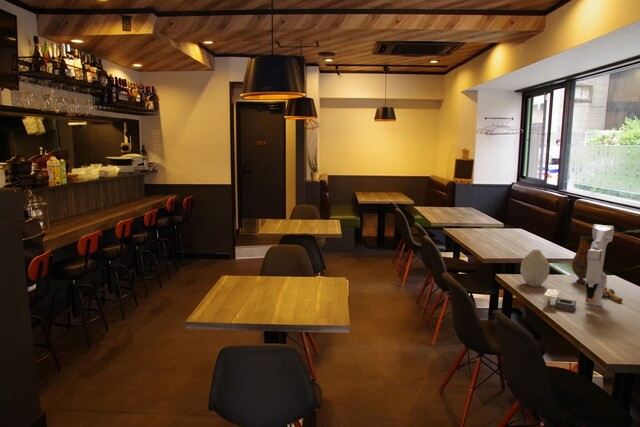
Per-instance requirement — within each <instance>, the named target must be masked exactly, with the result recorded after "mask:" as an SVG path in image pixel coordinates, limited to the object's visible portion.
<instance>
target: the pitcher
mask: <svg viewBox="0 0 640 427" xmlns="http://www.w3.org/2000/svg"><path fill="white" fill-rule="evenodd" d="M579 238H580V242H579V248H578V249H577V251H576V253H575V255H574V257H573V259H572V263H571V266H572V267H571V268H572V270H573V272H574V275H575V276H576V277H577V278H578V279H576V280H575V282H576V283H577V284H579V285H583V286H585V281H584V280H583V279H586V275H587V266H588V263H587V254H588V250H590V248H591V245H592V242H593V241H595V240H594V239H593V236H590V235H589V236H588V235H581V236H579Z"/></svg>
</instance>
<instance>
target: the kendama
mask: <svg viewBox="0 0 640 427" xmlns="http://www.w3.org/2000/svg"><path fill="white" fill-rule="evenodd" d="M604 296H607V297H608V298H611V299H613V301H615V302H617V303H618V304H621V303H622V302H623V298H621V297H619V296H618V295H616V291H615V290H614V289H612V288H607V286H606V288H605V289H603V292H602V297H604Z"/></svg>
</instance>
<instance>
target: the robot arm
mask: <svg viewBox="0 0 640 427" xmlns="http://www.w3.org/2000/svg"><path fill="white" fill-rule="evenodd" d="M591 230H592V231H591V233H592V234H591V235H592V237H593V239H594V240H595V241H593V242H592V245H591V248H590V250H588V254H587V263H588V266H587V275H586V279H583V280H584V281H585V285H584V287H585V289H586V290H587V297H588V298H590V299H592V298H593V295H594V292H595V290H596V293H595V301H594V303H588V302H585V301H584V304H586V305H590V306H597V307H602V306H603V301H602V300H603V299H602V298H603V296H602V292H603V289H605V288H606V287H607V284H608V275H607V274H606V273H605V272H604V271H603V269H604V268H603V267H604V262H605V255H606V249H607V245H608V243H610V242H612V241H613V237H614V232H615V227H614V225H607V224H606V225H603V224H596V223H594V224H593V225H592V229H591Z"/></svg>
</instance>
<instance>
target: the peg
mask: <svg viewBox="0 0 640 427" xmlns="http://www.w3.org/2000/svg"><path fill="white" fill-rule="evenodd" d="M595 293H596V290H595V292H594V295H593V298H592V299H590V298H588V297H587V290H586V292H585V300H584V303H585V302H588V303H594V301H595Z"/></svg>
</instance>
